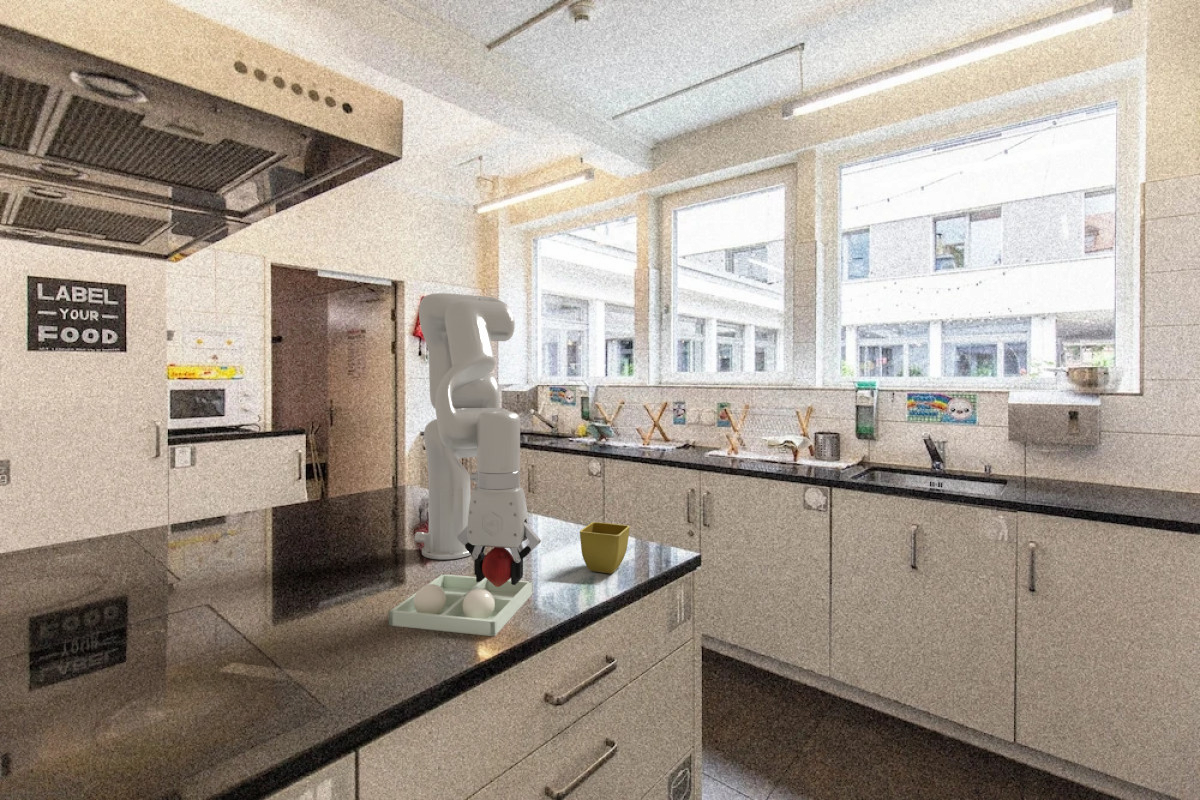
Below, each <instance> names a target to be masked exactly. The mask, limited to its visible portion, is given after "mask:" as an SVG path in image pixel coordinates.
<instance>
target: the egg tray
mask: <svg viewBox="0 0 1200 800" xmlns="http://www.w3.org/2000/svg"><path fill="white" fill-rule="evenodd" d="M429 584H434V585H438V586H439V587H441V588H442V589H443V590H444V592H445V594H446V604H445V607H444V608H443V610H442V611H441V612H440V613H439V614H428V613H418V612H417V611H416V610H415V607H414V597H415V595H416V593H417V591H416V592H415V593H414V594H412V595H411V596H409V597H408V598H406V599H405V600H403V601H402V602H400V603H399V604H398V605H395V607H393V608H392V609H391V610H389V611H388V626H390V627H391V626H392V627H398V628H400V627H402V628H409V629H411V628H412V629H420V630H429V631H430V630H431V631H437V632H438V631H439V632H449V633H457V634H458V633H460V634H468V635H469V634H470V635H475V636H477V635H479V636H487V637H488V636H489V637H496V636H497V634H499V632H501V630H502V629H503V628H504V627H505V626H506V625H507V623H508V622H509V621H510V619H512V618H513V616H514V615H515V614H516V613H517V611H519V609H521V607H523V605H524V604H525V603H526V602H527V600H528V599H529V598H530V597H531V596H532V595H533V581H530V580H520V581H519V582H518V583H517V584H516V585H512V584H511V579H509V580H508V581H507V582H506V583H504V584H503V585H501V586H500V587H496V586H494V585H493V584H492V583H491V582H490V581H489V580H488V579H487V578H484V579H483V580H482V581H480V582H476V576H469V575H456V574H455V575H454V574H446V573H442V574H440V575H439V576H438V577H436V578H434V580H431V582H429V583H428V584H427V585H429ZM478 588H482V589H486V590H488V591H489V592H490V593H491V594H492V595H493V597H494V600H495V608H494V611H493V613H492V615H491V616H490V617H489V618H488V619H480V618H469V617H466V616H465V614H464V612H463V601H464V598H465V597H466V595H467V594H468V593H469V592H470V591H472V590H474V589H478Z"/></svg>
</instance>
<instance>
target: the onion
mask: <svg viewBox="0 0 1200 800" xmlns="http://www.w3.org/2000/svg"><path fill="white" fill-rule="evenodd" d="M485 555H486V556H485V558H484V560H483V563H482V571H483V574H484V576H485V578H487V579H488V580H489V581H490V582H491V583H492V584H493V585H494V586H496V587H500V586H501V585H503V584H504V583H506V582H507V581H508V580H511V563H512V562H513V561H514V558H513V556H512V553H511V551H509V550H508V548H499V547H492V549H490V550H489V551H488V553H486V554H485Z"/></svg>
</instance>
